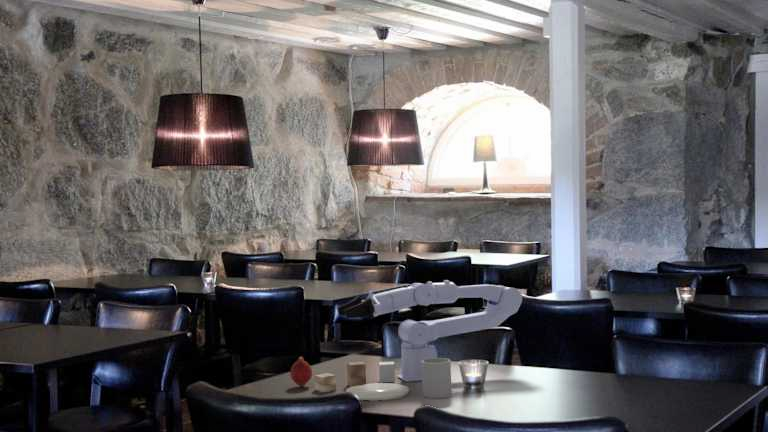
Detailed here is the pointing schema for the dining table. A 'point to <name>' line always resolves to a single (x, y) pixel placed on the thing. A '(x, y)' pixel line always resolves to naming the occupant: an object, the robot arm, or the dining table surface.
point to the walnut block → (356, 373)
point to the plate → (379, 391)
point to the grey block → (387, 372)
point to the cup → (436, 378)
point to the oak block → (325, 382)
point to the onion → (301, 372)
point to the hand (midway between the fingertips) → (341, 312)
